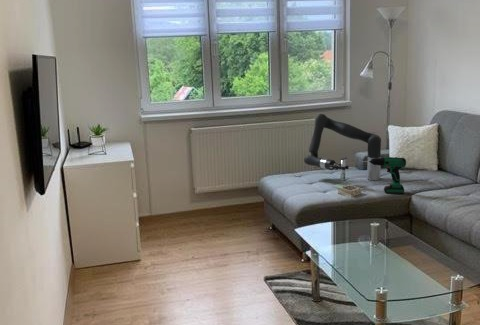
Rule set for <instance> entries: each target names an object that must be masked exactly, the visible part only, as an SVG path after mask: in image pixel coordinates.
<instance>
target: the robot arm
mask: <svg viewBox="0 0 480 325" xmlns="http://www.w3.org/2000/svg"><path fill="white" fill-rule="evenodd" d="M314 123H315V124H314V129H313V133H312V137H311V141H310V144H309V148H308V152H309V153H310V154H309V155H306V156H304V159H303V162H304V164H305V165H307V166H315V167H317V168H321V169H324V170H327V171H335V170H336V171H339V170H340V171H341V170H345V167H342V166H341V162H340V163H339V162H336V161H335V160H333V159H329V158H322V157H319V149H320V146H321V140H322V134H323V131H324V129H328V130H331V131H333V132H335V133H337V134H338V135H341V136H343V137H346V138H349V139H352V140H356V141H357V140H358V141H361V142H363V143H366V144H367V161H371V160H372V159H373V158H382V157H381V156H382V155H381V149H382V146H381V145H382V138H381V137H380V136H379V135H377V134H375V133H371V132H367V131H364V130H362V129H361V128H358V127H356V126H353V125H351V124H349V123H345V122H341V121H337V120H334V119H332V118H330V117H328V116H327V115H326V114H324V113H319V114H317V115H316V116H315V119H314ZM381 167H382V165H373V164H371V162H367V171H366V172H367V173H366V176H367V177H366V179H367V180H368V179H369V180H368V181H373V180H375V181H379V180H381V172H382V170H381V169H382V168H381ZM349 169H350V168H349V165H346V170H349Z"/></svg>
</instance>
